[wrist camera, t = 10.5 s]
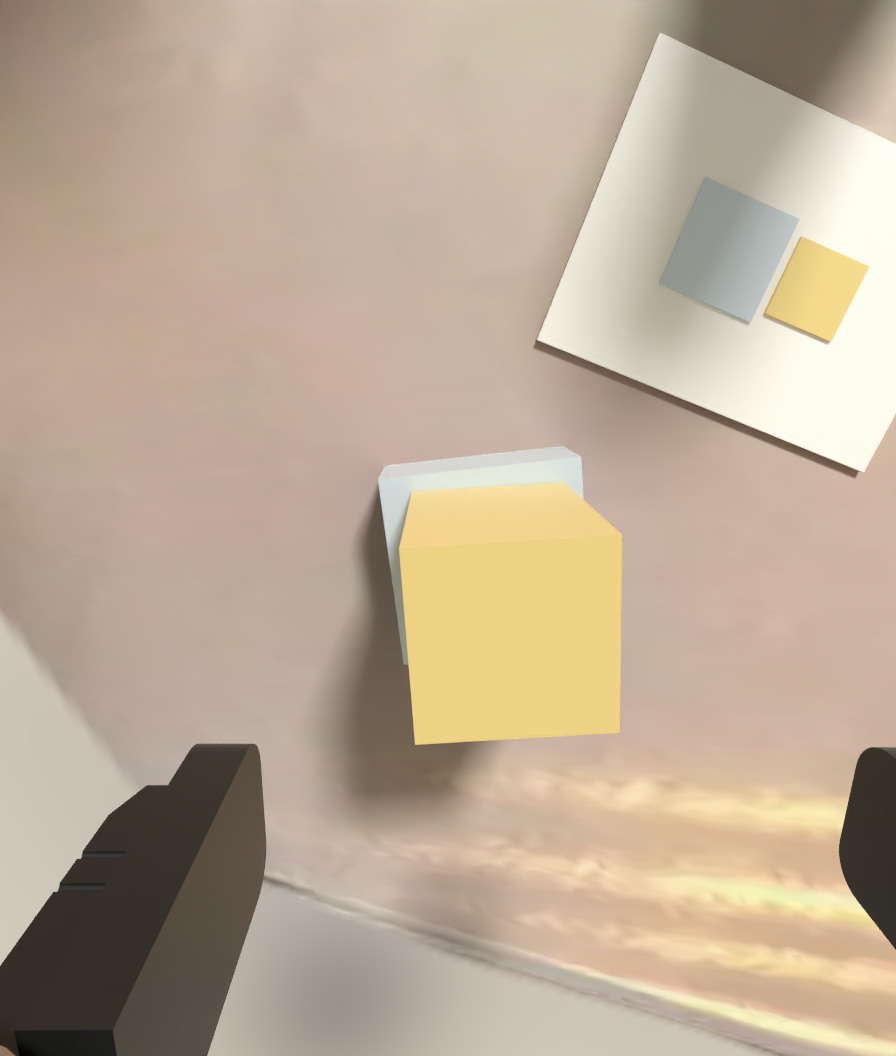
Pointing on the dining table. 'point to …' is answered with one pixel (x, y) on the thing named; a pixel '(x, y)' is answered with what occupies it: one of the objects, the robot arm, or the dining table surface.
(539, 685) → the ochre brick
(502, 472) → the base brick
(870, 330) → the page
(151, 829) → the robot arm
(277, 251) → the dining table surface
